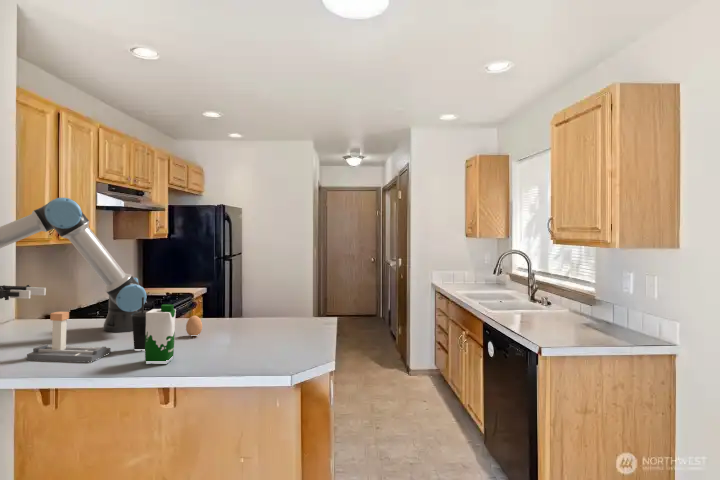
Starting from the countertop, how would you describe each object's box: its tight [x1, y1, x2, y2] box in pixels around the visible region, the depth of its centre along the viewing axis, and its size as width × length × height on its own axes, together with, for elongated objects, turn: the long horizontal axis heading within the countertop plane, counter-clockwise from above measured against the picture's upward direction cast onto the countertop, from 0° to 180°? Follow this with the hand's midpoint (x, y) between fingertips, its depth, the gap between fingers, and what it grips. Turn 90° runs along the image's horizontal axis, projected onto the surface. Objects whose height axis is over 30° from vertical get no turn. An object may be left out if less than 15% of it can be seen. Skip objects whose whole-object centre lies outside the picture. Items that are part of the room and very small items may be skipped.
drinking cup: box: [131, 297, 149, 350], centre depth 178 cm, size 8×8×20 cm
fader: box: [49, 311, 70, 350], centre depth 165 cm, size 4×4×13 cm
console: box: [26, 343, 111, 363], centre depth 166 cm, size 22×12×3 cm, turn 90°
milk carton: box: [144, 303, 177, 362], centre depth 163 cm, size 9×9×20 cm
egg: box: [185, 315, 203, 336], centre depth 202 cm, size 7×7×9 cm
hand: (37, 293), depth 165 cm, fingers open, 7 cm apart
